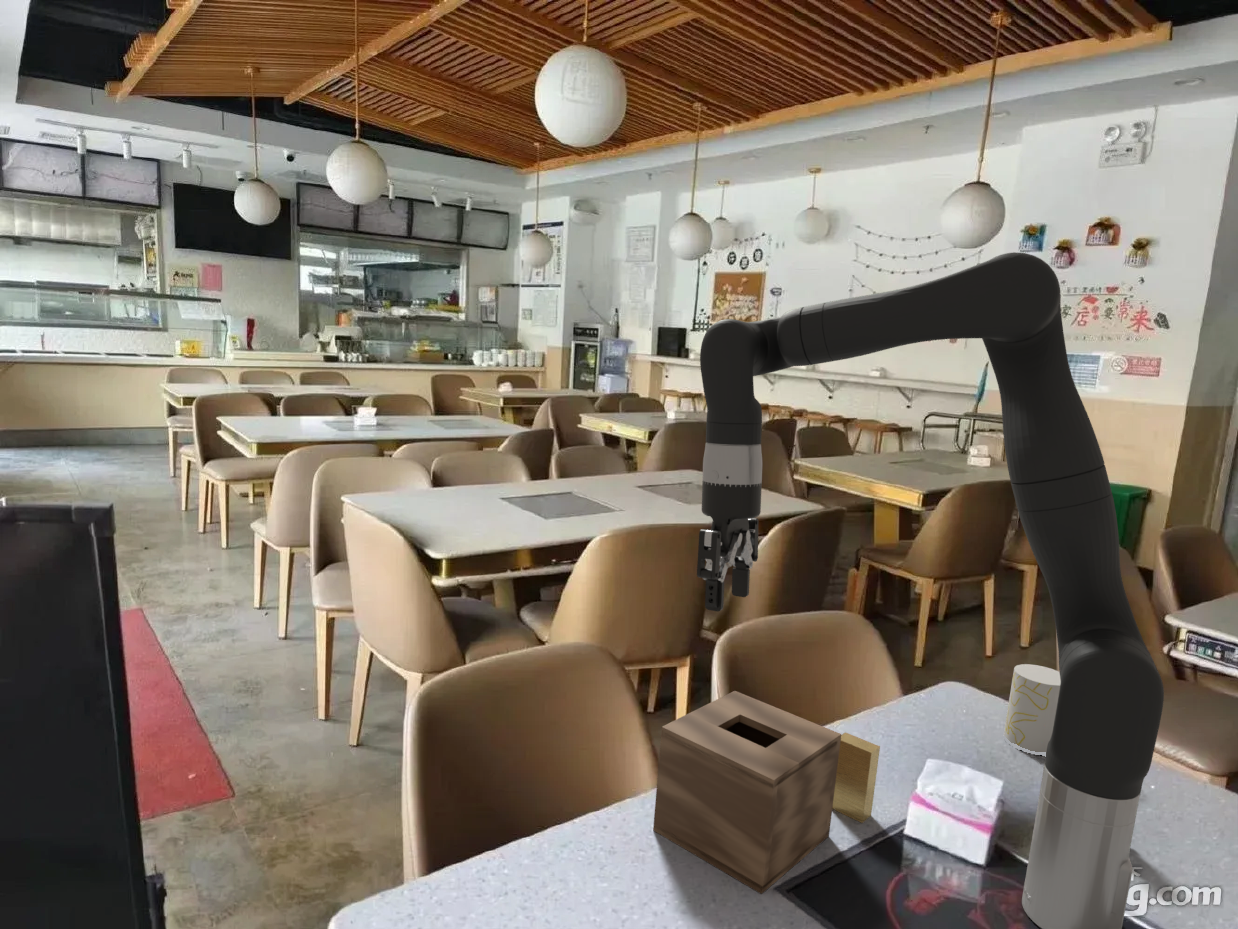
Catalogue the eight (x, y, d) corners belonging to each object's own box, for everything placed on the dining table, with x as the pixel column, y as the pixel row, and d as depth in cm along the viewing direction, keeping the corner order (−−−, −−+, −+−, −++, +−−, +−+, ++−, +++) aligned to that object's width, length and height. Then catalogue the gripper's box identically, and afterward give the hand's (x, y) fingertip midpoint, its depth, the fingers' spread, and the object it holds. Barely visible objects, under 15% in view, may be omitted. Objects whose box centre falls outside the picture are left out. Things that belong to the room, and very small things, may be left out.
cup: (992, 733, 136) (1002, 665, 134) (1031, 729, 138) (1042, 662, 137) (1029, 758, 128) (1041, 687, 126) (1070, 754, 131) (1082, 683, 129)
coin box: (725, 784, 115) (734, 690, 112) (828, 836, 104) (841, 734, 102) (653, 830, 103) (661, 726, 101) (761, 894, 92) (773, 780, 90)
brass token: (837, 799, 113) (845, 732, 111) (871, 815, 110) (880, 746, 108) (828, 806, 111) (836, 738, 109) (862, 823, 108) (871, 753, 106)
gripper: (737, 486, 96) (733, 620, 98) (779, 476, 108) (774, 595, 110) (680, 481, 100) (677, 610, 102) (726, 472, 112) (722, 587, 114)
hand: (727, 602), depth 106 cm, fingers open, 8 cm apart
